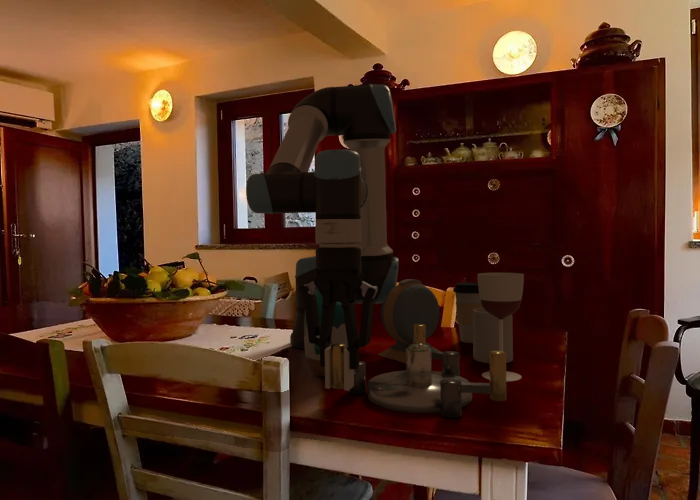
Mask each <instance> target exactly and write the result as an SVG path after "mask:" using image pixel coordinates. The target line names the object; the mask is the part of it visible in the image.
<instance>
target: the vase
mask: <svg viewBox="0 0 700 500" xmlns="http://www.w3.org/2000/svg"><path fill="white" fill-rule="evenodd" d="M316 290H317V293H316V298H317V305H318V315H319V324H320V328H321V319H322V310H323V307H322V301H323V296H322V295H321V293H320V292H319V290H318V289H317V288H316ZM331 342H332V343H331V344H330V346H331V345H332V344H336V343H342V344H345V350H346V349H347V348H348V342H347V335H346V327H345V320H344V312H343V309H342V306H341V303H340V302H336V306H335V310H334V319H333V327H332V336H331ZM304 344H305V349H304V353H305V360H306V364H307V367H308V368H309V370H310V371H311V373H314V374H315V375H317V376H321V377H325V367H321V365H320V348H319V346H318V345H316V344H314V343H313V344H311V343H310V342H309V338H308V329H307V320H306V311H305V316H304Z"/></svg>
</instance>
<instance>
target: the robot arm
mask: <svg viewBox="0 0 700 500" xmlns="http://www.w3.org/2000/svg"><path fill="white" fill-rule="evenodd" d="M396 132H397V127H396V117H395V110H394V105H393V98H392V93H391V90H390V88H389V86H387V85H385V84H376V83H375V84H373V83H369V84H358V85H357V84H355V85H344V86H327V87H323V88H320V89H318V90H315V91H313V92H310V94H308V95H306V96H305V97H304V98H303V99H301V100H300V101H299V102H297V104H296V105H295V106H294V107H293V108H292V111H290V114H289V116H288V119H287V130H286V132H285V134H284V137H283V139H282V141H281V142H280V145H279V147H278V149H277V151H276V153H275V155H274V157H273V160H272V161H271V164H270V166H269V168H268V170H267V171H266V172H260V173H253V174H251V175H249V177H248V178H247V181H246V184H245V185H246V186H245V188H246V189H245V193H246V194H245V195H246V196H245V197H246V201H247V202H246V203H247V205H248V207H249V209H250V210H251V212H253V213H255V214H265V215H266V214H268V215H275V214H277V215H279V214H280V215H281V214H303V213H306V214H307V213H308V214H312V213H315V218H314V219H315V220H314V223H315V243H316V244H317V245H318V246H317V247H316V249H315V256H314V255H313V256H309V257H307V256H306V257H302V258H299V259H298V260H297V261H296V264H295V275H294V279H295V305H296V308H295V309H296V310H295V311H296V312H295V313H296V314H295V315H296V316H295V319H294V322H293V328H292V332H291V334H290V336H289V338H290V339H289V341H290V342H289V345H290V344H291V345H292V346H293V348H296V349H299V350H300V349H301V350H305V344H304V316H305V311H306V320H307V329H308V338H309V342H310V343H311V344H313V343H314V344H316V345H318V346H319V348H320V365H321V367H325V376H324V388H325V389H329V390H330V389H331V388H332V374H331V346H330V344H331V343H332V342H331V336H332V327H333V319H334V310H335V306H336V302H340V303H341V306H342V309H343V312H344V320H345V327H346V335H347V342H348V348H347V349H346V350H344V388H343V390H344V391H347V392H348V391H349V390H350V389H351V388H352V387H353V386H354V369H357V368H358V366H359V361H360V349H361V348H364V347H366V346H368V345H369V344H370V342H371V336H372V328H373V318H374V317H373V315H374V306H375V305H378V304H383V300H384V299H385V297H386V295H387V294H388V293H389V292H390V290H391V289H392V288H394V287H395V286H397V285H398V284H397V282H398V273H399V263H400V259H399V258H398V257H396V256H394V250H393V249H392V248H391V246H389V245H388V241H387V238H388V235H387V203H386V202H387V199H386V192H387V191H386V166H385V165H386V163H385V161H386V159H385V155H386V154H385V153H386V152H385V149H386V147H387V146H388V145H389V144H390V142H391V135H393V134H396ZM330 136H331V137H333V136H336V137H337V136H340V137H341V136H342V139H343V140H342V141H343V144H344V145H345V146H346V147H347V148H348V149H326V150H322V151H319V152H316V151H317V149H318V146H319V144H320V142H322V141H323V139H324V138H325V137H330ZM315 154H316V155H315ZM314 157H315V158H314ZM313 159H314V170H313V171H310V168H311V166H312V163H313ZM316 288H317V289H318V290H319V292H320V293H321V295H322V296H323V301H322V307H323V310H322V319H321V328H320V324H319V315H318V305H317V298H316V293H317V290H316ZM356 304H362V305H361V313H360V314H361V315H360V323H359V325H358V320H357V312H356V311H357V310H356ZM358 326H359V327H358ZM291 345H290V346H291ZM292 346H291V347H292Z"/></svg>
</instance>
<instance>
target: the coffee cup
mask: <svg viewBox="0 0 700 500" xmlns="http://www.w3.org/2000/svg"><path fill="white" fill-rule="evenodd" d="M452 292H454V295H455V296H454V297H455V308H456V317H457V318H456V319H457V324H458V329H459V338H460V342H461V343H465V344H473V310H474V309H476V308H483V306H482V304H481V300H480V295H479V288H478V281H475V282H474V281H473V282H472V281H465V282H463V281H462V282H456V283H455V286H454V287H453V288H452Z"/></svg>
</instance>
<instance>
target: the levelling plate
mask: <svg viewBox="0 0 700 500" xmlns="http://www.w3.org/2000/svg"><path fill="white" fill-rule="evenodd" d="M432 367H433V366H432V358H431V349H430V348H429V346H428V345H424V344H412V345H409V346H408V348H407V349H406V363H405V370H397V371H391V372H385V373H382V374H378V375H375V376H374V377H372V378H370V379H369V380H368V382H367V383H366V390H367V399H368V400H369V401H370V402H371V403H372V404H374V405H376V406H378V407H380V408H383V409H387V410H389V411H390V410H391V411H396V412H401V413H409V414H412V413H413V414H436V413H437V414H439V413H441V395H440V381H441V380H443V379H456V380H460V381H461V382H470V381H469V380H468V379H466V378H465V377H462V376H457V375H453V374H449V373H444V372H443V371H436V370H432ZM472 401H473V393H462V408H464V407H466V406H468V405H469V404H470V403H471V402H472Z"/></svg>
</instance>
